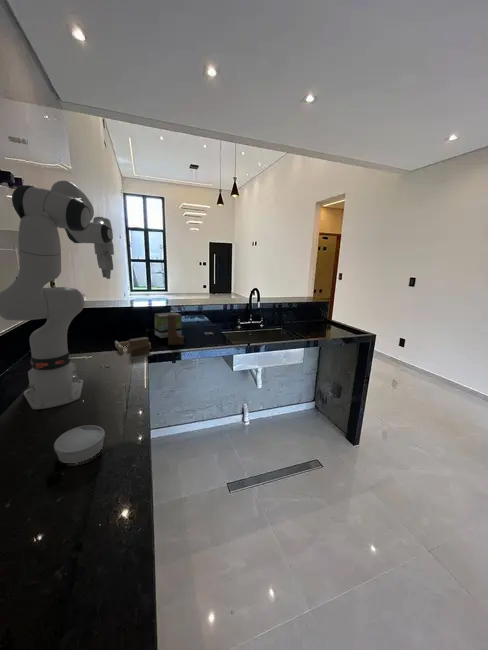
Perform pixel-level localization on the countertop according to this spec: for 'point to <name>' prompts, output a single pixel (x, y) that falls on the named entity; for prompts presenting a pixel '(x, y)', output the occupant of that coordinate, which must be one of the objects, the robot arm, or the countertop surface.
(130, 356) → the mat
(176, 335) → the wooden block
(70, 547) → the countertop surface
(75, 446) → the ramekin
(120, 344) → the tray
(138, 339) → the dark brown wood block
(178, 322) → the tea box
